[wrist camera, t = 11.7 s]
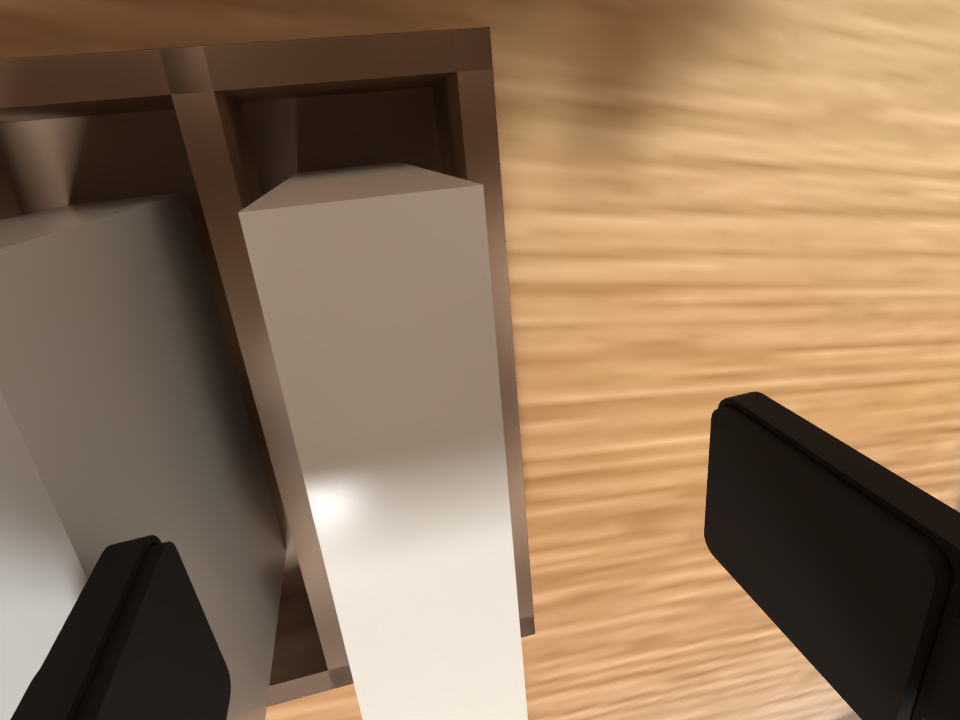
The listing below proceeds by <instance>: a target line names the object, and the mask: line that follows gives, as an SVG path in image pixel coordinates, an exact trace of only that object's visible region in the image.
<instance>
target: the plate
mask: <svg viewBox="0 0 960 720" xmlns="http://www.w3.org/2000/svg"><path fill="white" fill-rule="evenodd" d="M238 214H239V218H240V222H241V226H242V230H243V234H244V238H245V242H246V246H247V250H248V255H249V259H250V263H251V267H252V271H253V275H254V279H255V283H256V287H257V291H258V295H259V299H260V303H261V307H262V312H263V316H264V320H265V324H266V328H267V332H268V336H269V340H270V344H271V348H272V352H273V356H274V360H275V364H276V368H277V373H278V377H279V381H280V385H281V389H282V393H283V397H284V401H285V405H286V409H287V413H288V417H289V421H290V425H291V430H292V434H293V438H294V442H295V446H296V450H297V454H298V458H299V462H300V466H301V470H302V474H303V478H304V482H305V486H306V491H307V495H308V499H309V503H310V507H311V511H312V515H313V519H314V523H315V527H316V531H317V535H318V539H319V543H320V547H321V552H322V556H323V560H324V564H325V568H326V572H327V576H328V580H329V584H330V588H331V592H332V596H333V600H334V604H335V609H336V613H337V617H338V621H339V625H340V629H341V633H342V637H343V641H344V645H345V649H346V653H347V657H348V661H349V665H350V670H351V674H352V678H353V682H354V686H355V690H356V694H357V698H358V702H359V706H360V710H361V714H362V718H363V720H528V718H527V706H526V694H525V682H524V670H523V658H522V646H521V634H520V622H519V610H518V598H517V585H516V573H515V561H514V549H513V537H512V525H511V513H510V501H509V489H508V477H507V465H506V453H505V441H504V429H503V417H502V405H501V393H500V381H499V368H498V356H497V344H496V332H495V320H494V308H493V296H492V284H491V272H490V260H489V248H488V236H487V224H486V212H485V200H484V188H483V184H479V183H475V182H472V181H468V180H464V179H460V178H457V177H453V176H449V175H446V174H442V173H438V172H435V171H431V170H427V169H424V168H420V167H416V166H412V165H409V164H405V163H401V162H394V163H385V164H375V165H365V166H356V167H346V168H336V169H327V170H317V171H307V172H298V173H296V174H294V175H293V176H291V177H290V178H288V179H287V180H286V181H284V182H283V183H281V184H280V185H278V186H277V187H275V188H274V189H272V190H271V191H269V192H268V193H266V194H265V195H263V196H262V197H260V198H259V199H258V200H256V201H255V202H253V203H252V204H250V205H249V206H247V207H246V208H244V209H243V210H241V211H240V212H238Z"/></svg>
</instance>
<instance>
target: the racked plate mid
mask: <svg viewBox="0 0 960 720" xmlns="http://www.w3.org/2000/svg"><path fill="white" fill-rule="evenodd" d="M149 535H155V536H157V537H158V538H159V539H160V540H161V542H162V543H164V542H168V541H170V542H173V543H174V544H175V546H176V548H177V550H178V552H179V555H180V557H181V559H182V562H183V564H184V566H185V569H186V571H187V573H188V576H189V578H190V580H191V583H192V585H193V587H194V590H195V592H196V594H197V597H198V599H199V602H200V604H201V606H202V609H203V611H204V613H205V616H206V618H207V620H208V623H209V625H210V627H211V630H212V632H213V634H214V637H215V639H216V641H217V644H218V646H219V649H220V651H221V653H222V656H223V658H224V660H225V663H226V665H227V667H228V670H229V674H230V681H231V695H230V702H229V708H228V714H227V720H265V715H266V707H267V699H268V691H269V684H270V676H271V668H272V660H273V652H274V644H275V636H276V628H277V620H278V612H279V605H280V597H281V589H282V581H283V573H284V565H285V557H286V549H285V545H284V542H283V538H282V535H281V531H280V528H279V524H278V521H277V517H276V513H275V510H274V506H273V503H272V499H271V496H270V492H269V489H268V485H267V481H266V478H265V474H264V471H263V467H262V464H261V460H260V457H259V453H258V450H257V446H256V442H255V439H254V435H253V432H252V428H251V425H250V421H249V418H248V414H247V410H246V407H245V403H244V400H243V396H242V393H241V389H240V386H239V382H238V378H237V375H236V371H235V368H234V364H233V361H232V357H231V354H230V350H229V346H228V343H227V339H226V336H225V332H224V329H223V325H222V322H221V318H220V314H219V311H218V307H217V304H216V300H215V297H214V293H213V290H212V286H211V282H210V279H209V275H208V272H207V268H206V265H205V261H204V258H203V254H202V250H201V247H200V243H199V240H198V236H197V233H196V229H195V226H194V222H193V218H192V215H191V211H190V208H189V204H188V201H187V197H186V194H185V192H182V193H173V194H164V195H155V196H145V197H136V198H127V199H118V200H109V201H100V202H91V203H82V204H73V205H66V206H62V207H57V208H53V209H48V210H44V211H39V212H35V213H30V214H26V215H21V216H17V217H12V218H8V219H3V220H0V720H10V719H11V718H12V716H13V714H14V712H15V710H16V708H17V706H18V705H19V703H20V701H21V699H22V697H23V695H24V694H25V692H26V690H27V688H28V686H29V684H30V682H31V681H32V679H33V678H34V676H35V675H36V674H37V672H38V671H39V669H40V668H41V666H42V664H43V662H44V660H45V659H46V657H47V655H48V653H49V651H50V649H51V647H52V646H53V644H54V642H55V640H56V638H57V636H58V634H59V632H60V631H61V629H62V627H63V625H64V623H65V621H66V619H67V618H68V616H69V614H70V612H71V610H72V608H73V606H74V604H75V603H76V601H77V599H78V597H79V595H80V593H81V591H82V590H83V588H84V586H85V584H86V582H87V580H88V578H89V576H90V575H91V573H92V571H93V569H94V567H95V565H96V563H97V562H98V560H99V558H100V556H101V554H102V552H103V551H104V550H105V548H106V547H107V546H109V545H111V544H116V543H120V542H124V541H128V540H132V539H137V538H141V537H145V536H149Z"/></svg>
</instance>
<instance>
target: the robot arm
mask: <svg viewBox="0 0 960 720" xmlns="http://www.w3.org/2000/svg"><path fill="white" fill-rule="evenodd" d="M704 537H705V541H706V544H707V546H708V548H709V550H710V552H711V553H712V555H713V556H714V557H715V558H716V559H717V560H718V561H719V563H720V564H721V565H722V566H723V567H724V568H725V569H726V570H727V571H728V572H729V574H730V575H731V576H732V577H733V578H734V579H735V580H736V581H737V582H738V583H739V585H740V586H741V587H742V588H743V589H744V590H745V591H746V592H747V593H748V594H749V596H750V597H751V598H752V599H753V600H754V601H755V602H756V603H757V604H758V606H759V607H760V608H761V609H762V610H763V611H764V612H765V613H766V614H767V615H768V617H769V618H770V619H771V620H772V621H773V622H774V623H775V624H776V625H777V626H778V628H779V629H780V630H781V631H782V632H783V633H784V634H785V635H786V636H787V637H788V639H789V640H790V641H791V642H792V643H793V644H794V645H795V646H796V647H797V648H798V650H799V651H800V652H801V653H802V654H803V655H804V656H805V657H806V658H807V660H808V661H809V662H810V663H811V664H812V665H813V666H814V667H815V668H816V669H817V671H818V672H819V673H820V674H821V675H822V676H823V677H824V678H825V679H826V680H827V682H828V683H829V684H830V685H831V686H832V687H833V688H834V689H835V690H836V691H837V693H838V694H839V695H840V696H841V697H842V698H843V699H844V700H845V701H846V702H847V704H848V705H849V706H850V707H851V708H852V709H853V710H854V711H855V712H856V713H857V715H858V716H859V717H860V718H861V719H862V720H960V513H959V512H958V511H956V510H954V509H953V508H951V507H949V506H948V505H946V504H944V503H943V502H941V501H939V500H938V499H936V498H934V497H933V496H931V495H929V494H928V493H926V492H924V491H923V490H921V489H919V488H918V487H916V486H914V485H913V484H911V483H910V482H908V481H906V480H905V479H903V478H901V477H900V476H898V475H896V474H895V473H893V472H891V471H890V470H888V469H886V468H885V467H883V466H881V465H880V464H878V463H876V462H875V461H873V460H871V459H870V458H868V457H866V456H865V455H863V454H862V453H860V452H858V451H857V450H855V449H853V448H852V447H850V446H848V445H847V444H845V443H843V442H842V441H840V440H838V439H837V438H835V437H833V436H832V435H830V434H828V433H827V432H825V431H823V430H822V429H820V428H818V427H817V426H815V425H814V424H812V423H810V422H809V421H807V420H805V419H804V418H802V417H800V416H799V415H797V414H795V413H794V412H792V411H790V410H789V409H787V408H785V407H784V406H782V405H780V404H779V403H777V402H775V401H774V400H772V399H770V398H769V397H767V396H766V395H764V394H762V393H759V392H750V393H746V394H741V395H737V396H733V397H729V398H725V399H723V400H722V401H721V402H720V404H719V406H718V409H716V410H715V411H714V412H713V414H712V418H711V431H710V447H709V463H708V479H707V495H706V511H705V527H704ZM230 695H231V681H230V674H229V670H228V667H227V665H226V663H225V660H224V658H223V656H222V653H221V651H220V649H219V646H218V644H217V641H216V639H215V637H214V634H213V632H212V630H211V627H210V625H209V623H208V620H207V618H206V616H205V613H204V611H203V609H202V606H201V604H200V602H199V599H198V597H197V594H196V592H195V590H194V587H193V585H192V583H191V580H190V578H189V576H188V573H187V571H186V569H185V566H184V564H183V562H182V559H181V557H180V555H179V552H178V550H177V548H176V546H175V544H174V543H173V542H170V541H168V542H164V543H162V542H161V540H160V539H159V538H158V537H157V536H155V535H149V536H145V537H141V538H137V539H132V540H128V541H124V542H120V543H116V544H111V545H109V546H107V547H106V548H105V550H104V551H103V552H102V554H101V556H100V558H99V560H98V562H97V563H96V565H95V567H94V569H93V571H92V573H91V575H90V576H89V578H88V580H87V582H86V584H85V586H84V588H83V590H82V591H81V593H80V595H79V597H78V599H77V601H76V603H75V604H74V606H73V608H72V610H71V612H70V614H69V616H68V618H67V619H66V621H65V623H64V625H63V627H62V629H61V631H60V632H59V634H58V636H57V638H56V640H55V642H54V644H53V646H52V647H51V649H50V651H49V653H48V655H47V657H46V659H45V660H44V662H43V664H42V666H41V668H40V669H39V671H38V672H37V674H36V675H35V676H34V678H33V679H32V681H31V682H30V684H29V686H28V688H27V690H26V692H25V694H24V695H23V697H22V699H21V701H20V703H19V705H18V706H17V708H16V710H15V712H14V714H13V716H12V718H11V719H10V720H227V714H228V708H229V702H230Z"/></svg>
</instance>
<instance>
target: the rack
mask: <svg viewBox="0 0 960 720" xmlns="http://www.w3.org/2000/svg"><path fill="white" fill-rule="evenodd" d="M394 162H401V163H405V164H409V165H412V166H416V167H420V168H424V169H427V170H431V171H435V172H438V173H442V174H446V175H449V176H453V177H457V178H460V179H464V180H468V181H472V182H475V183H479V184H483V188H484V200H485V212H486V224H487V236H488V248H489V260H490V272H491V284H492V296H493V308H494V320H495V332H496V344H497V356H498V368H499V381H500V393H501V405H502V417H503V429H504V441H505V453H506V465H507V477H508V489H509V501H510V513H511V525H512V537H513V549H514V561H515V573H516V585H517V598H518V610H519V622H520V634H521V637H525V636H529V635H532V634H535V626H534V613H533V600H532V586H531V573H530V560H529V546H528V533H527V520H526V506H525V493H524V480H523V466H522V453H521V440H520V426H519V413H518V400H517V387H516V373H515V360H514V347H513V333H512V320H511V307H510V293H509V280H508V267H507V253H506V240H505V227H504V213H503V200H502V187H501V173H500V160H499V147H498V133H497V120H496V107H495V94H494V80H493V67H492V54H491V40H490V27H482V28H467V29H452V30H437V31H422V32H407V33H391V34H376V35H361V36H346V37H331V38H316V39H300V40H285V41H270V42H255V43H240V44H225V45H209V46H194V47H179V48H164V49H149V50H133V51H118V52H103V53H88V54H73V55H58V56H42V57H27V58H12V59H0V220H3V219H8V218H12V217H17V216H21V215H26V214H30V213H35V212H39V211H44V210H48V209H53V208H57V207H62V206H66V205H73V204H82V203H91V202H100V201H109V200H118V199H127V198H136V197H145V196H155V195H164V194H173V193H182V192H185V194H186V197H187V201H188V204H189V208H190V211H191V215H192V218H193V222H194V226H195V229H196V233H197V236H198V240H199V243H200V247H201V250H202V254H203V258H204V261H205V265H206V268H207V272H208V275H209V279H210V282H211V286H212V290H213V293H214V297H215V300H216V304H217V307H218V311H219V314H220V318H221V322H222V325H223V329H224V332H225V336H226V339H227V343H228V346H229V350H230V354H231V357H232V361H233V364H234V368H235V371H236V375H237V378H238V382H239V386H240V389H241V393H242V396H243V400H244V403H245V407H246V410H247V414H248V418H249V421H250V425H251V428H252V432H253V435H254V439H255V442H256V446H257V450H258V453H259V457H260V460H261V464H262V467H263V471H264V474H265V478H266V481H267V485H268V489H269V492H270V496H271V499H272V503H273V506H274V510H275V513H276V517H277V521H278V524H279V528H280V531H281V535H282V538H283V542H284V545H285V549H286V557H285V565H284V573H283V581H282V589H281V597H280V605H279V612H278V620H277V628H276V636H275V644H274V652H273V660H272V668H271V676H270V684H269V691H268V699H267V707H268V706H272V705H276V704H279V703H283V702H287V701H290V700H294V699H298V698H301V697H305V696H309V695H312V694H316V693H320V692H323V691H327V690H331V689H334V688H338V687H342V686H345V685H349V684H353V683H354V682H353V678H352V674H351V670H350V665H349V661H348V657H347V653H346V649H345V645H344V641H343V637H342V633H341V629H340V625H339V621H338V617H337V613H336V609H335V604H334V600H333V596H332V592H331V588H330V584H329V580H328V576H327V572H326V568H325V564H324V560H323V556H322V552H321V547H320V543H319V539H318V535H317V531H316V527H315V523H314V519H313V515H312V511H311V507H310V503H309V499H308V495H307V491H306V486H305V482H304V478H303V474H302V470H301V466H300V462H299V458H298V454H297V450H296V446H295V442H294V438H293V434H292V430H291V425H290V421H289V417H288V413H287V409H286V405H285V401H284V397H283V393H282V389H281V385H280V381H279V377H278V373H277V368H276V364H275V360H274V356H273V352H272V348H271V344H270V340H269V336H268V332H267V328H266V324H265V320H264V316H263V312H262V307H261V303H260V299H259V295H258V291H257V287H256V283H255V279H254V275H253V271H252V267H251V263H250V259H249V255H248V250H247V246H246V242H245V238H244V234H243V230H242V226H241V222H240V218H239V214H238V212H240V211H241V210H243V209H244V208H246V207H247V206H249V205H250V204H252V203H253V202H255V201H256V200H258V199H259V198H260V197H262V196H263V195H265V194H266V193H268V192H269V191H271V190H272V189H274V188H275V187H277V186H278V185H280V184H281V183H283V182H284V181H286V180H287V179H288V178H290V177H291V176H293V175H294V174H296V173H298V172H307V171H317V170H327V169H336V168H346V167H356V166H365V165H375V164H385V163H394Z"/></svg>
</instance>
